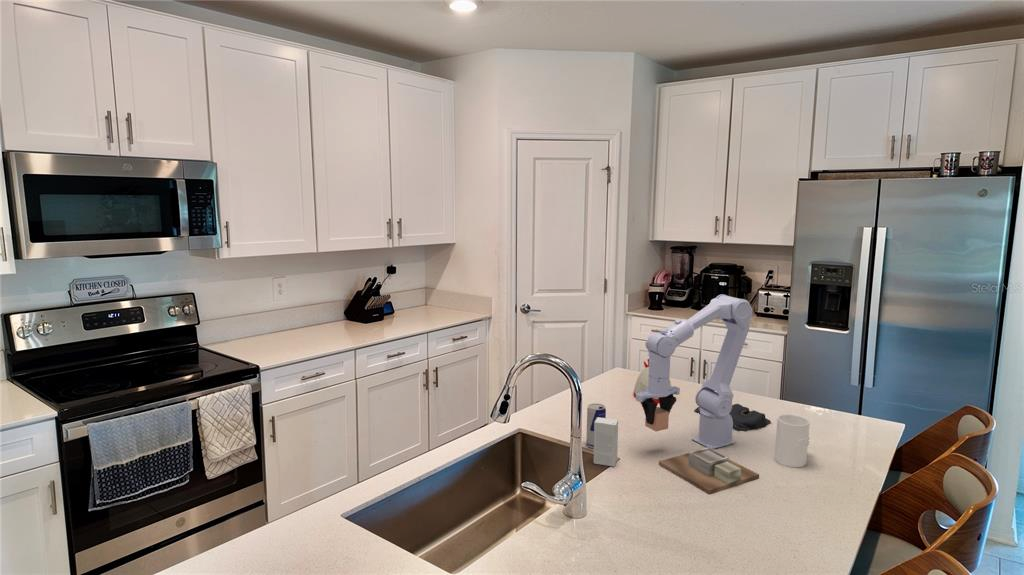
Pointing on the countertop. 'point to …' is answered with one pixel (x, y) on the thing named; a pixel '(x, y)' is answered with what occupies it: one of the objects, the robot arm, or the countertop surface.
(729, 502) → the countertop surface
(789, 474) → the countertop surface
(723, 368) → the robot arm
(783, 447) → the mug
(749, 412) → the dark slate chunk
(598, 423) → the skincare box
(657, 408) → the terracotta block
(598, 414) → the energy drink
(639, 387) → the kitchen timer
